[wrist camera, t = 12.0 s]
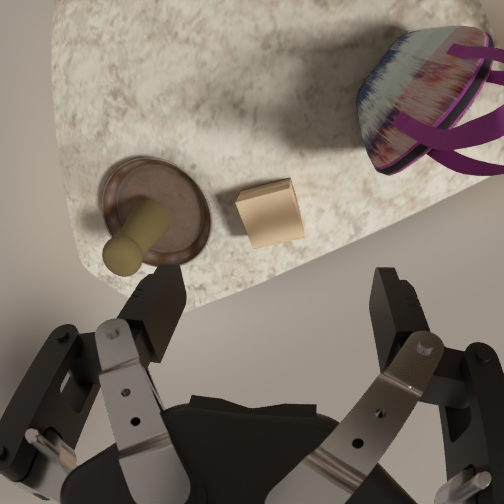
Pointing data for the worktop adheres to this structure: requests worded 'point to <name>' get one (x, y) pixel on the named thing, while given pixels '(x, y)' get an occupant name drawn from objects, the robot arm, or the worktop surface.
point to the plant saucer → (171, 197)
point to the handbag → (431, 101)
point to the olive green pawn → (136, 237)
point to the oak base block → (271, 214)
